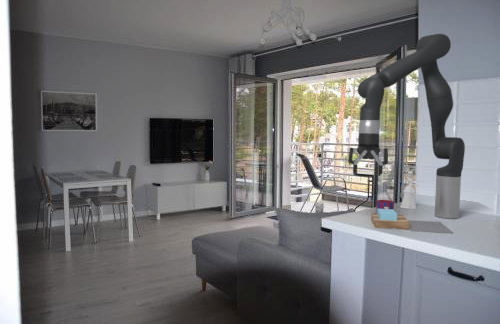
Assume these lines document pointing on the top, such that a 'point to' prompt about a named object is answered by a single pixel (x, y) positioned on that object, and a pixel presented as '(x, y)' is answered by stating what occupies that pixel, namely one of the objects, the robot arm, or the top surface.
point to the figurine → (409, 193)
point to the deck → (390, 222)
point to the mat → (428, 226)
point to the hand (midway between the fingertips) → (367, 175)
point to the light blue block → (387, 214)
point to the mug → (384, 204)
